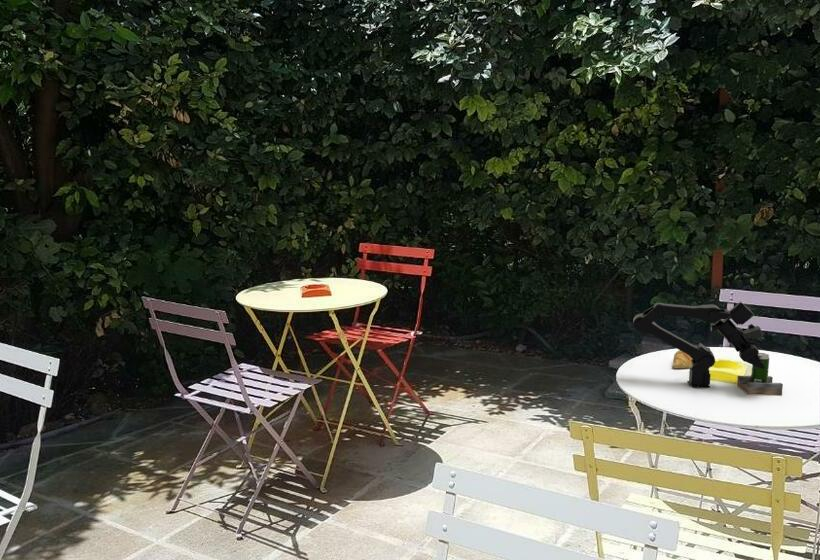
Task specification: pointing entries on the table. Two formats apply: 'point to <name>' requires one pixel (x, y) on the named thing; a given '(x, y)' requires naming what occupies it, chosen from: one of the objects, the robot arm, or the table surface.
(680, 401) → the table surface
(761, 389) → the track board
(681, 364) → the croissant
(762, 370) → the beer can
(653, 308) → the robot arm
